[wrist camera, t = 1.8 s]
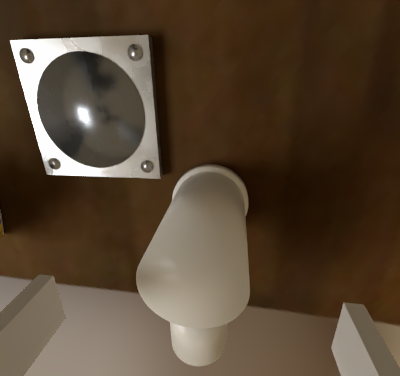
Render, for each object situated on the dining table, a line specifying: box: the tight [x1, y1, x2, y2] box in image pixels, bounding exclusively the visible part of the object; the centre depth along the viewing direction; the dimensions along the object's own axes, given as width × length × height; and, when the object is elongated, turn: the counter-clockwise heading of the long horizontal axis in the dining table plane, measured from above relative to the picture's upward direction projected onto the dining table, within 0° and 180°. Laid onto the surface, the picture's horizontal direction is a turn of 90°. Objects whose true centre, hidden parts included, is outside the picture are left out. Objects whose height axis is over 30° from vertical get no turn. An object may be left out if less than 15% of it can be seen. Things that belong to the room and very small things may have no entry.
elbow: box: [136, 164, 250, 366], centre depth 17 cm, size 9×6×10 cm, turn 1°
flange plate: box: [10, 35, 163, 179], centre depth 19 cm, size 10×10×1 cm
